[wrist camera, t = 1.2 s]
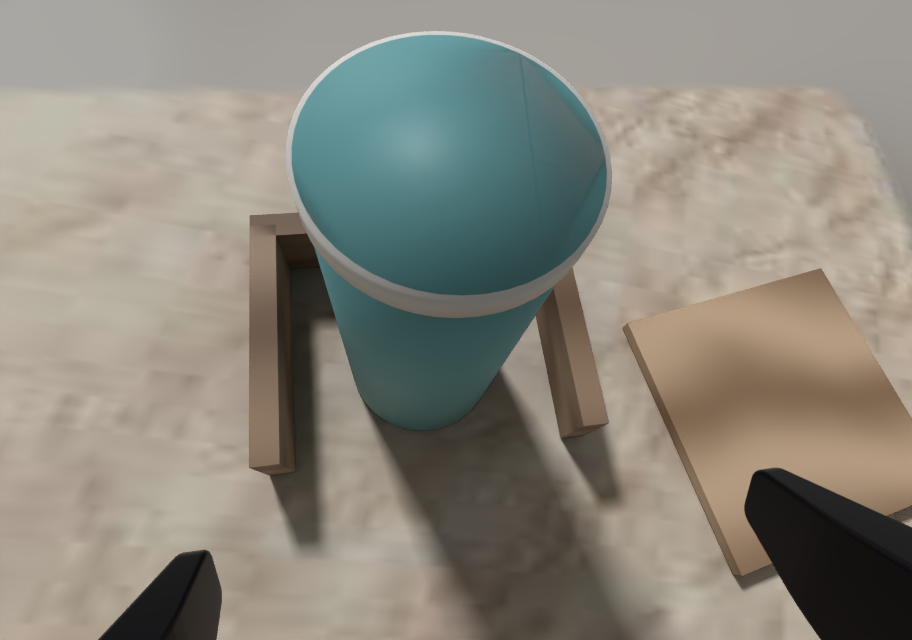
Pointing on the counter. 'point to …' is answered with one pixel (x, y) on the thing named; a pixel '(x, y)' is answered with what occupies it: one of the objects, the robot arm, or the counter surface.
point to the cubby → (270, 346)
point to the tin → (442, 209)
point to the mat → (774, 402)
